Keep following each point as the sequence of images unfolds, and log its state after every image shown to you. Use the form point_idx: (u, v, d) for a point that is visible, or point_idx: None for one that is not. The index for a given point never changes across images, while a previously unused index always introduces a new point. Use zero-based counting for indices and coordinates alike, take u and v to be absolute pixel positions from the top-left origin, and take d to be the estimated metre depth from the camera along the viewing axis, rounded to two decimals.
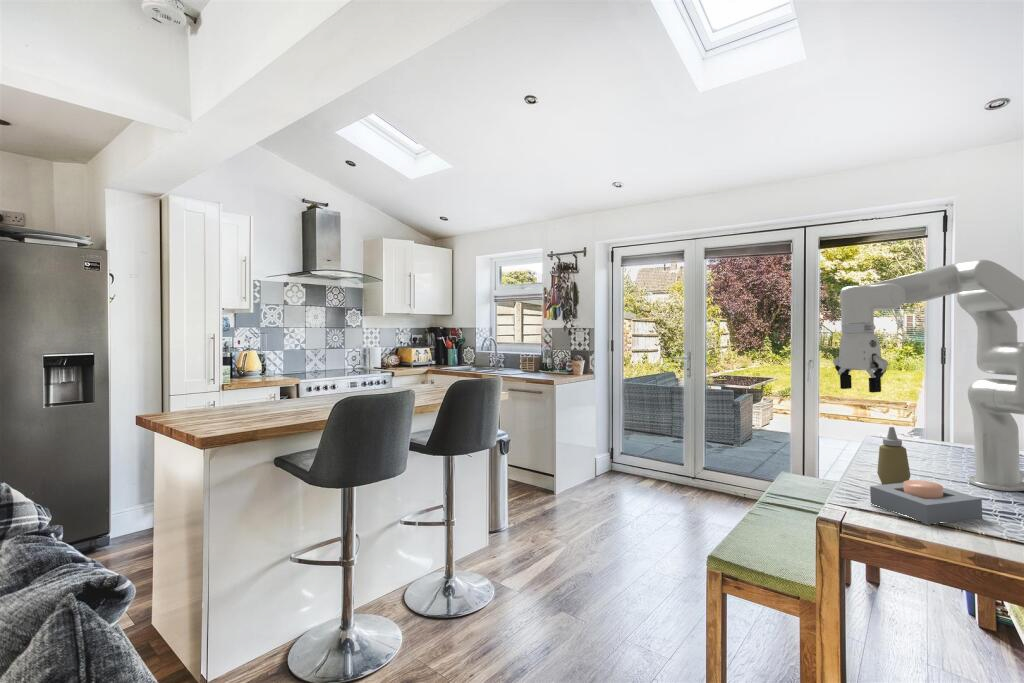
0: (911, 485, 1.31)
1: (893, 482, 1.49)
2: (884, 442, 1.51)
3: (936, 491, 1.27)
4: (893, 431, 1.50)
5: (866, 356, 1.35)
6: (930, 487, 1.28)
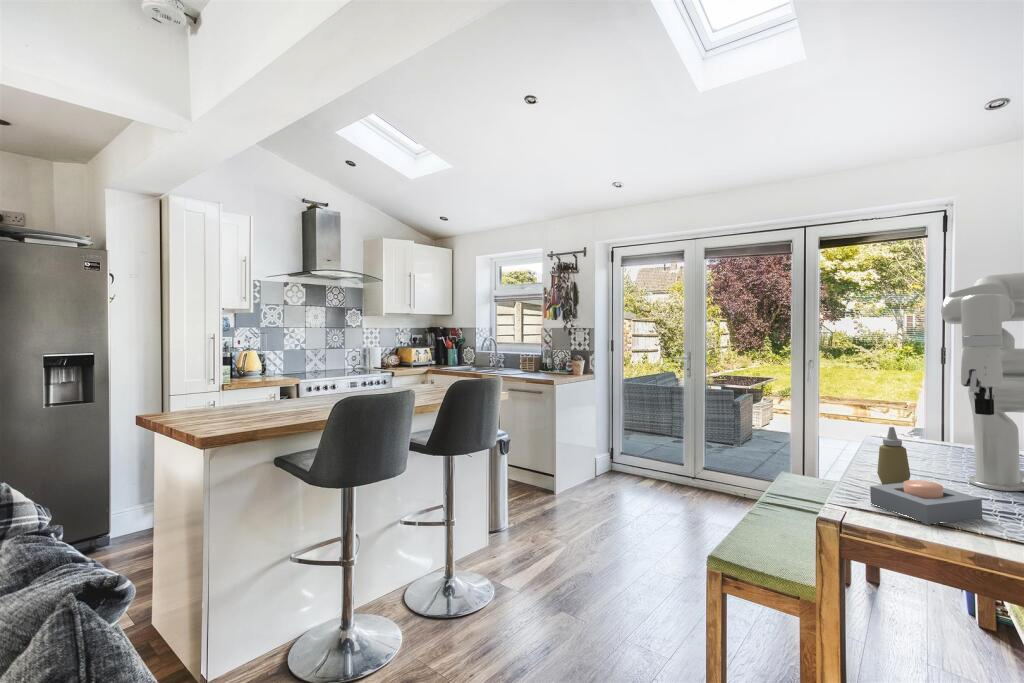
0: (911, 485, 1.31)
1: (893, 482, 1.49)
2: (884, 442, 1.51)
3: (936, 491, 1.27)
4: (893, 431, 1.50)
5: None
6: (930, 487, 1.28)
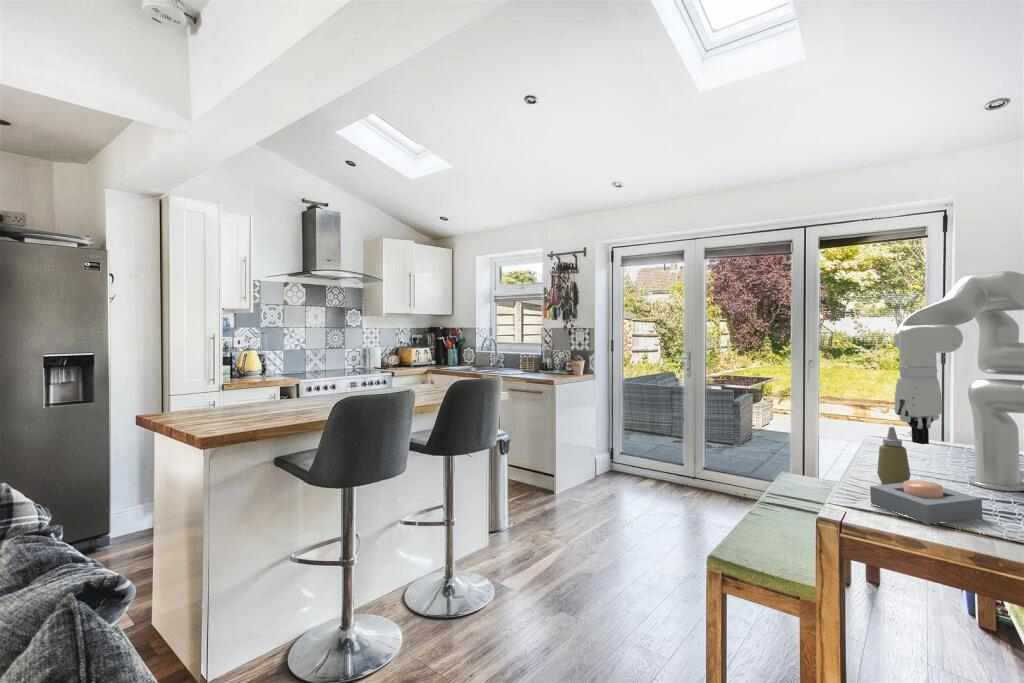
0: (911, 485, 1.31)
1: (893, 482, 1.49)
2: (884, 442, 1.51)
3: (936, 491, 1.27)
4: (893, 431, 1.50)
5: (941, 400, 1.29)
6: (930, 487, 1.28)
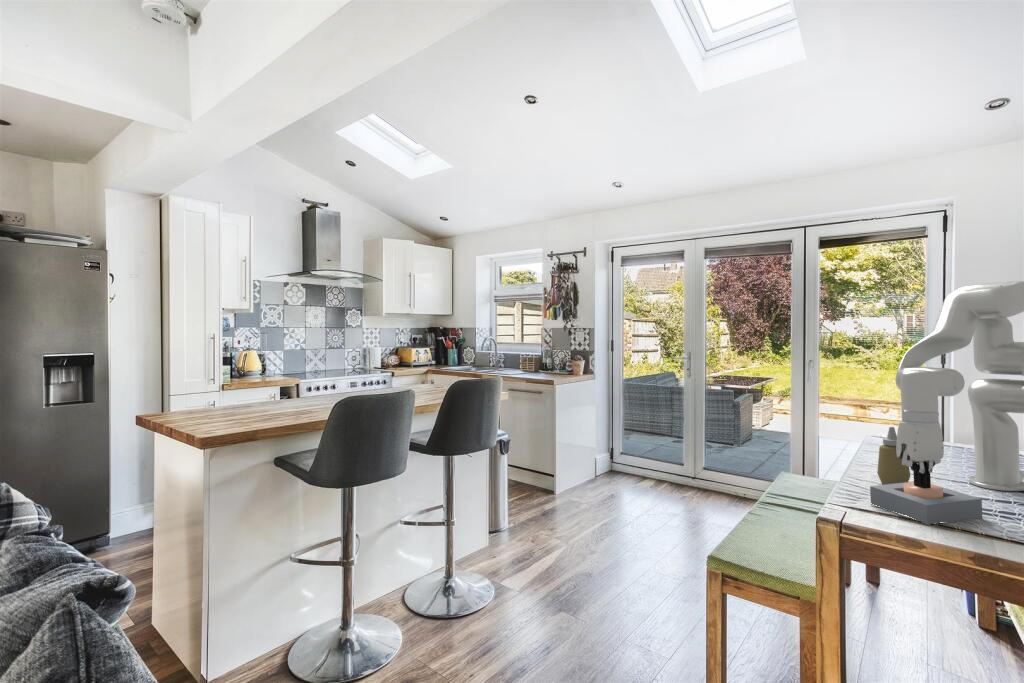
0: (911, 487, 1.31)
1: (893, 482, 1.49)
2: (884, 442, 1.51)
3: (936, 493, 1.27)
4: (893, 431, 1.50)
5: (943, 445, 1.29)
6: (930, 489, 1.28)
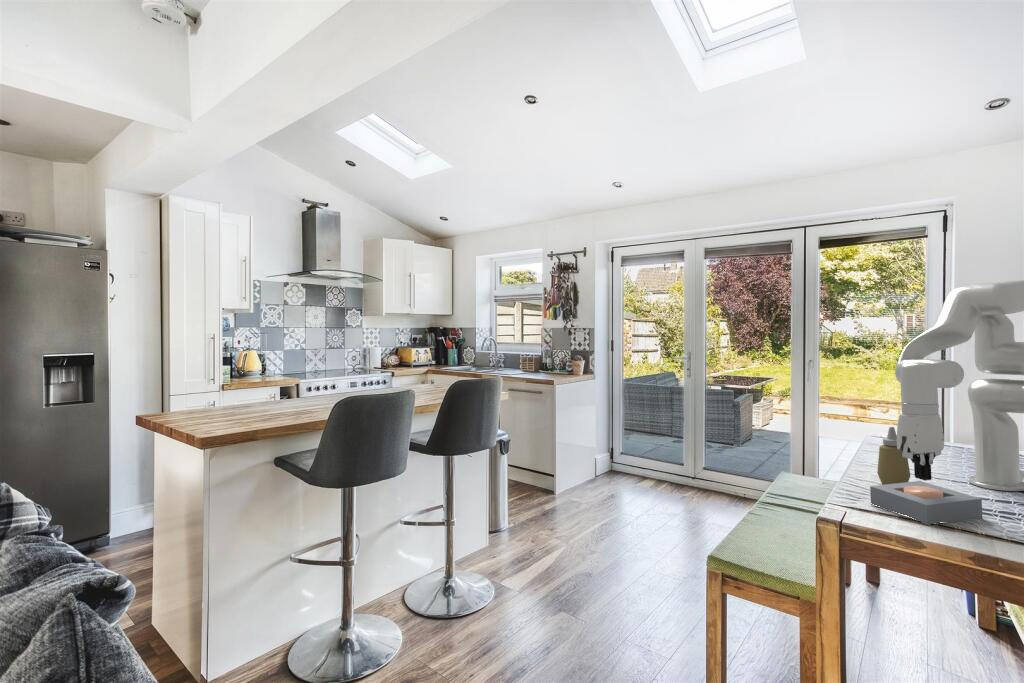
0: (911, 491, 1.31)
1: (893, 482, 1.49)
2: (884, 442, 1.51)
3: (936, 497, 1.27)
4: (893, 431, 1.50)
5: (943, 436, 1.29)
6: (930, 493, 1.28)
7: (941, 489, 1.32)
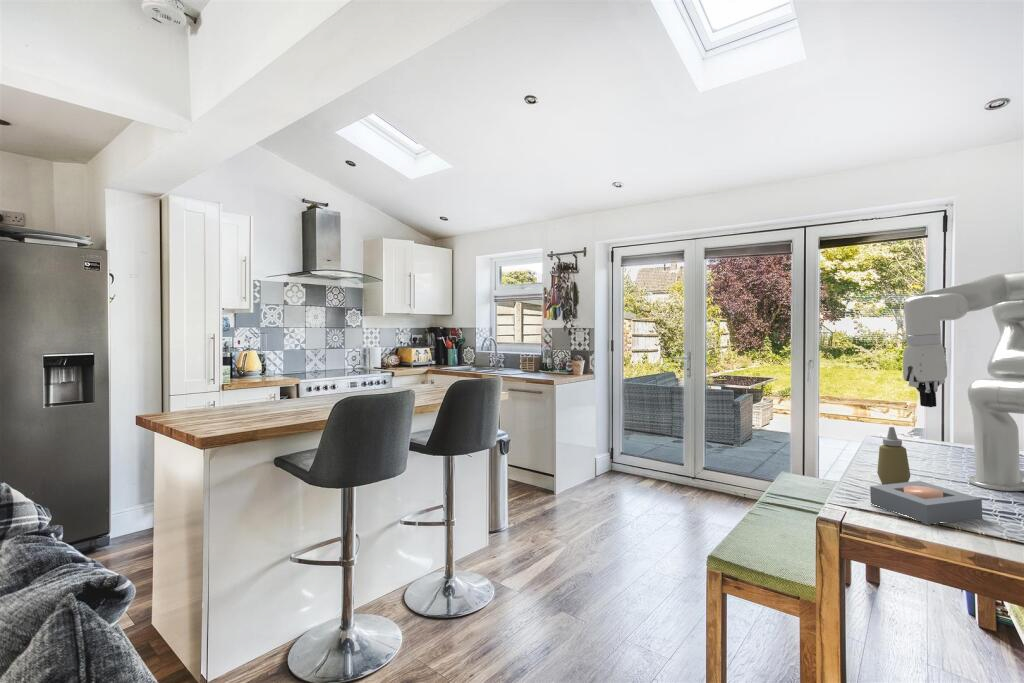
0: (911, 491, 1.31)
1: (893, 482, 1.49)
2: (884, 442, 1.51)
3: (936, 497, 1.27)
4: (893, 431, 1.50)
5: (946, 365, 1.38)
6: (930, 493, 1.28)
7: (941, 489, 1.32)
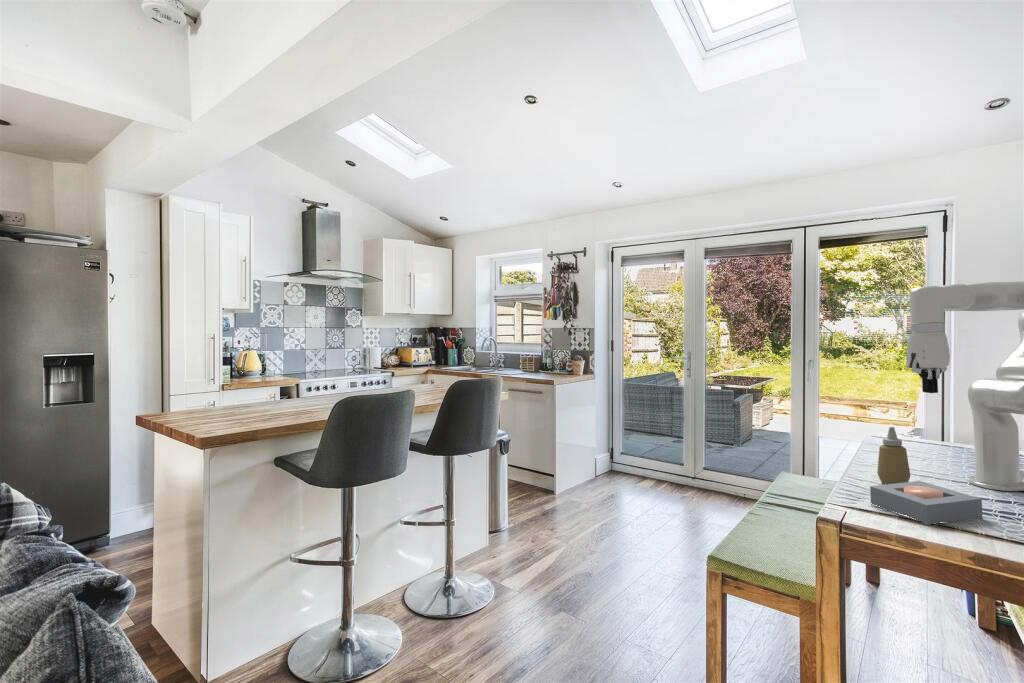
0: (911, 491, 1.31)
1: (893, 482, 1.49)
2: (884, 442, 1.51)
3: (936, 497, 1.27)
4: (893, 431, 1.50)
5: None
6: (930, 493, 1.28)
7: (941, 489, 1.32)
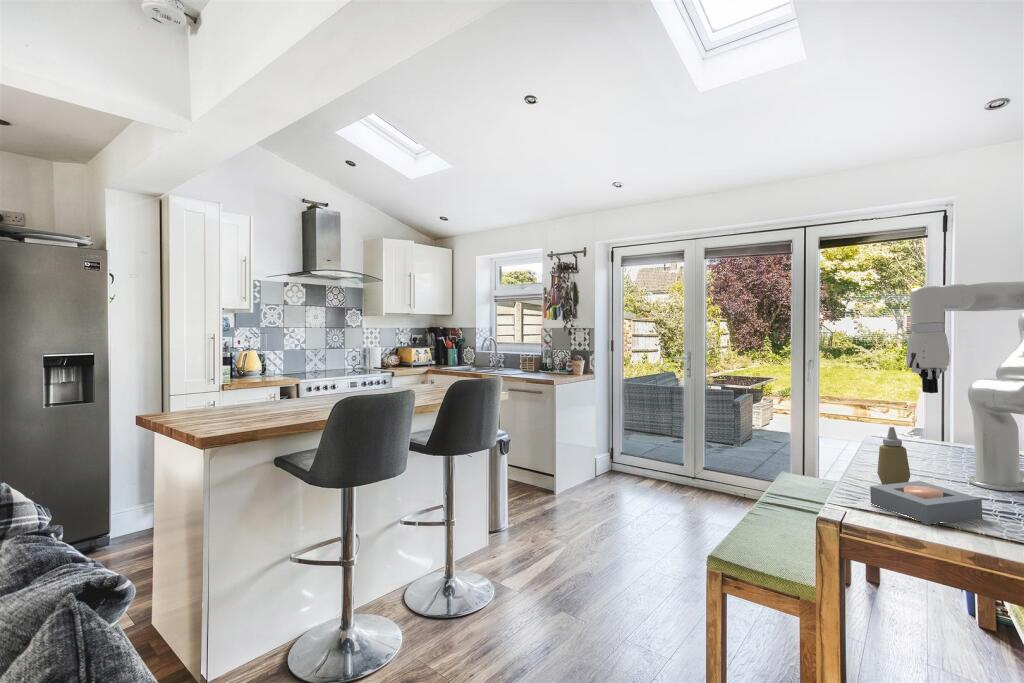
0: (911, 491, 1.31)
1: (893, 482, 1.49)
2: (884, 442, 1.51)
3: (936, 497, 1.27)
4: (893, 431, 1.50)
5: None
6: (930, 493, 1.28)
7: (941, 489, 1.32)
